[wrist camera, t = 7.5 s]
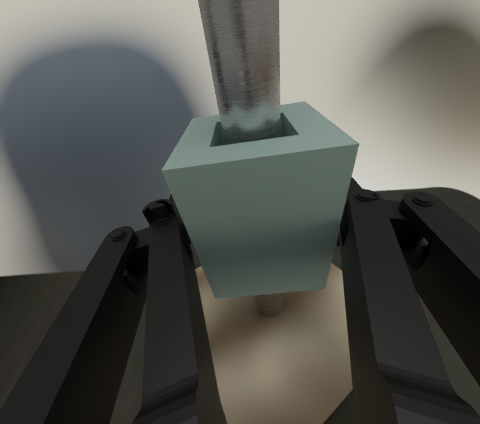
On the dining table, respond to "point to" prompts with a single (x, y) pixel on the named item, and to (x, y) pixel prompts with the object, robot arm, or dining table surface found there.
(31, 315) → the dining table surface
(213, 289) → the sleeve
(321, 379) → the stand base
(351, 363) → the robot arm
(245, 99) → the post
